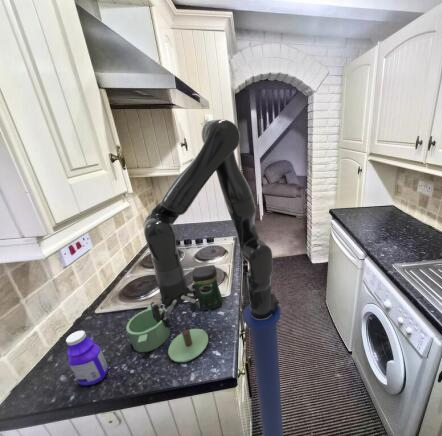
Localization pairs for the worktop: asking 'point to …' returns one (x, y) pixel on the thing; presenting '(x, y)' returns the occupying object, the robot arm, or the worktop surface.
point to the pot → (146, 331)
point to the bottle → (86, 359)
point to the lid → (188, 345)
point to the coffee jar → (207, 287)
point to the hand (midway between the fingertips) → (181, 318)
